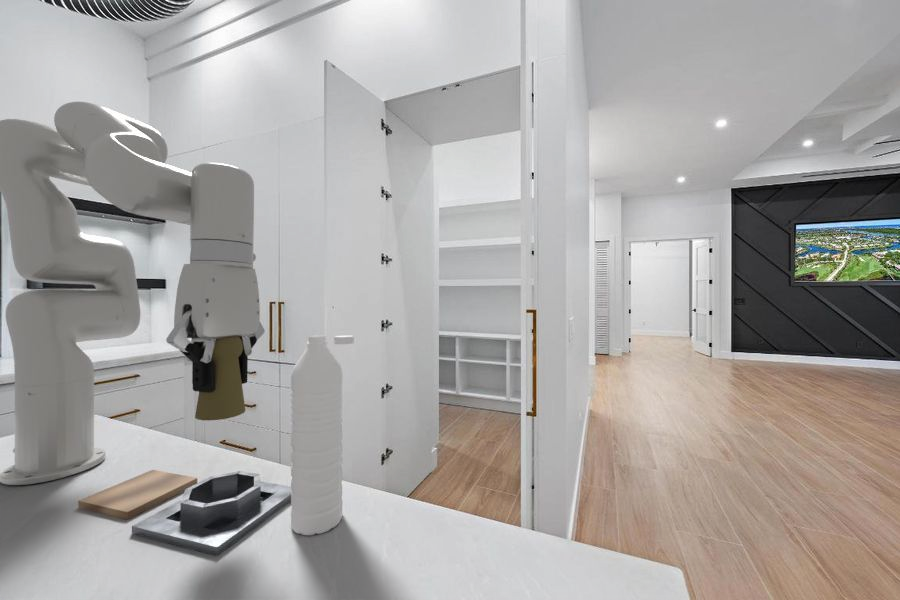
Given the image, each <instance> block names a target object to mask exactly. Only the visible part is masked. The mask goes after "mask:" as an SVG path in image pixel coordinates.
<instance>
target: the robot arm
mask: <svg viewBox="0 0 900 600" xmlns="http://www.w3.org/2000/svg"><path fill="white" fill-rule="evenodd" d="M53 122H54V127H52V126H49V125H45V124H43V123H39V122H34V121H30V120H26V119H18V118H5V119H1V120H0V193H1V195H2V197H3V200H4V202H5V205H6V210H7V221H8V230H9V239H10V245H11V253H12V255H11V256H12V261H13V264H14V268H15V270H16V272H17V274H18V275H19V277H22V278H23V279H25V280H28V281H30V282H37V283H47V284H67V285H91V286H92V285H93V286H94V287H95V290H94V289H71V288H70V289H67V288H66V289H65V288H62V289H61V288H47V289H46V288H45V289H34V290H29V291H25V292H21V293H19V294H17V295H16V296H14V297H13V298H12V299H10V300H9V302H8V303H7V305H6V309H5V321H6V327H7V329H8V330H7V331H8V333H9V337H10V342H11V347H12V351H13V362H14V448H13V450H12V452H13V454H14V465H11V466H9V467H7V468H6V469H4V470H3V471H1V473H0V483H1V484H3V485H7V486H26V485H33V484H39V483H46V482H50V481H55V480H59V479H63V478H67V477H69V476H73V475H76V474H79V473H82V472H85V471H87V470H89V469H91V468H93V467H96V466H97V465H99V464H100V463H102V462H104V460H105V459H106V450H105V449H102V448H98V447H95V369H94V368H95V367H94V364H93V362H92V359H91V358H90V356H88V355H87V353H85V352H84V351H83V350H82V349H81V348H80V347H79V346H78V345H77V343H80V342H81V343H82V342H89V341H102V340H110V339H120V338H125V337H128V336H131V335H132V334H134V333H135V332H136V331H137V330H138V327H139V326H140V322H141V305H140V304H141V303H140V297H139V296H140V295H139V291H138V290H139V289H138V282H137V275H136V268H135V267H136V266H135V262H134V259H133V255H132V254H131V251H130V250H129V248H128V247H127V246H126V245H125V244H124V243H123V242H121V241H120V240H116V239H114V238H111V237H106V236H97V235H92V234H85V233H84V232H82V231H81V229H80V225H79V219H78V211H77V209H76V207H75V205H74V203H73V202H72V200H70V199H69V197H68V196H67V194H65V192H64V191H62V189H60V187H59V186H57V185H56V184H55V183H53V181H52V180H51V178H53V179H54V178H55V179H58V180H62V181H63V180H64V181H67V182H72V183H75V184H80V185H83V186H89V187H91V188H92V189H93V190H94V191H95V192H96V193H97V194H99V195H100V196H101V197H102V198H104V199H105V200H106V201H107V202H109V203H110V204H112V205H113V206H115V207H117V208H118V209H120V210H122V211H124V212H127V213H129V214H130V213H131V214H133V215H136V216H142V217H146V218H147V217H148V218H153V219H158V220H163V221H168V222H173V223H178V224H182V225H188V226H190V229H189V231H190V232H189V233H190V234H189V236H190V237H189V238H190V239H189V240H190V241H189V243H190V244H189V263H184V264H183V265H182V268H181V272H180V276H179V278H178V284H177V289H176V297H175V305H174V316H173V328H172V330H171V332H169V334H168V335H167V337H166V339H165V340H166V343H167V344H169V345H171V346H172V347H174V348H175V349H177V350H179V351H180V352H181V353H182V354H183V355H184V357H185V356H186V359H187V361H188V362H190V363H192V364H191V365H192V366H191V367H192V369H191V371H192V372H191V373H192V375H191V376H192V377H191V378H192V379H191V383H192V390H193V391H194V392H198V393H199V392H206V393H210V392H213V391H214V390H215V362H210V361H211V358H212V353H213V349H214V345H215V340H216V339H220V338H227V337H240V339H241V340H242V343H243V350H242V353H241V355H240V356H239V357H238V360H239V367H240V374H241V381H242V385H243V384H246V383H248V366H249V365H248V364H249V363H248V361H249V359H248V357H249V356H250V355H251V354H252V351H253V350H252V349H253V348H254V346H255V345H256V344H257V342H258V340H259V339H260V338H261V337H262V336H263V335H264V334H265V328H264V326H263V325H262V323H261V321H260V320H261V319H260V318H261V317H260V316H261V306H260V291H259V290H260V289H259V283H258V278H257V276H258V275H257V273H256V269H255V268H254V262H255V261H256V259H257V256H256V254H255V253H254V229H255V227H254V226H255V225H254V224H255V222H254V221H255V220H254V219H255V217H254V216H255V215H254V214H255V209H254V208H255V184H254V179H253V177H252V176H251V174H250V173H249V172H247V171H246V170H244V169H241V168H239V167H237V166H234V165H229V164H225V163H219V162H203V163H200V164H197V165H195V166H194V168H193V169H192V170H191V172H189V171H188V170H184V169H181V168H178V167H175V166H173V165H169V164H165V163H166V162H167V159H168V155H169V154H168V153H169V151H168V146H167V142H166V140H165V139H164V137H163V135H162V134H161V133H160V132H159V131H158V130H157V129H155V128H153V127H152V126H150V125H148V124H145V123H144V122H142V121H139V120H137V119H136V120H135V118H131V117H129V116H127V115H124V114H121V113H119V112H117V111H114V110H112V109H110V108H107V107H104V106H101V105H98V104H95V103H91V102H87V101H72V102H70V101H69V102H67V103H64V104H62V105H61V106H60V107H58V108H57V109H56V110H55V113H54V117H53ZM189 339H191V340H189ZM202 343H203V348H202V349H201V345H202Z"/></svg>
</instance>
